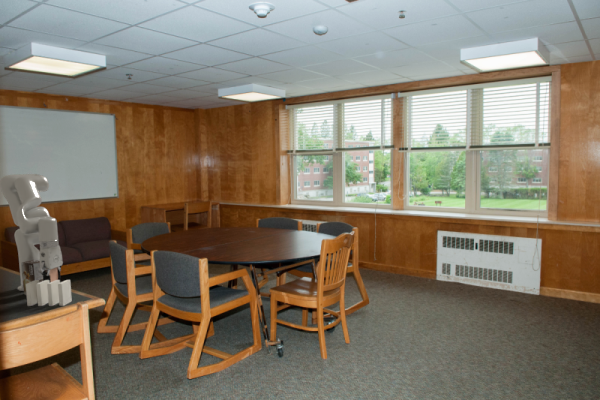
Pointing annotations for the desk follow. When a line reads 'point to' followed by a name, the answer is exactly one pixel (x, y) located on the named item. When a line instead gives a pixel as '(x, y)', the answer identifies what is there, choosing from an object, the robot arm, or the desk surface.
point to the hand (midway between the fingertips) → (52, 281)
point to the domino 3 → (53, 274)
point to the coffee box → (30, 272)
